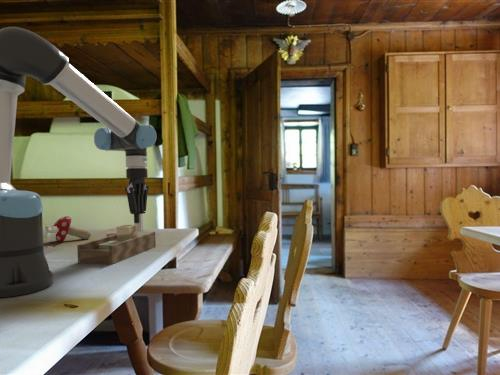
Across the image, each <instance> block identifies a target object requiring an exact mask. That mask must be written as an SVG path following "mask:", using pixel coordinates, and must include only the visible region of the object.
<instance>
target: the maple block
mask: <svg viewBox="0 0 500 375" xmlns="http://www.w3.org/2000/svg"><path fill="white" fill-rule="evenodd" d="M115 228H117V241H126V240H129V239H133V238H136V237H139V235H138V232H137V225H134V224H122V225H118V226H116V227H115Z"/></svg>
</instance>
